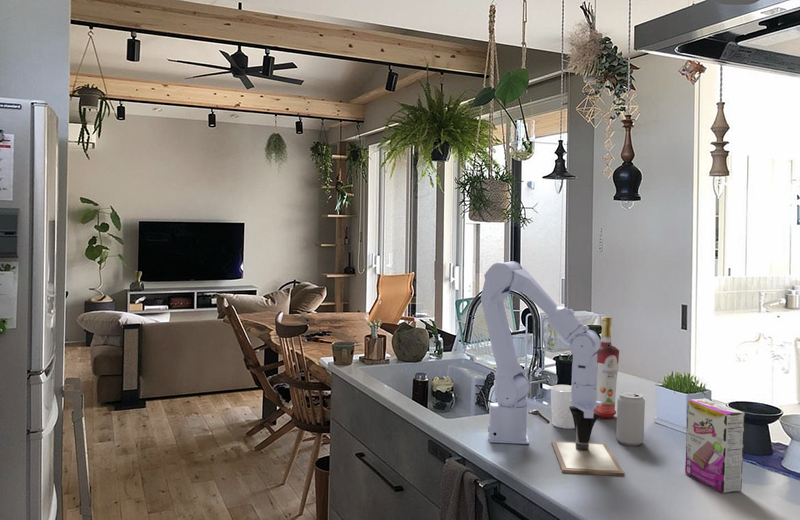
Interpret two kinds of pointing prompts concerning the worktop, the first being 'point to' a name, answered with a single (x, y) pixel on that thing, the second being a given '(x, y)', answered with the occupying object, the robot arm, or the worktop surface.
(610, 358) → the liquor
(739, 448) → the candy bar box
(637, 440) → the beverage can
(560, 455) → the writing board
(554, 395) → the white cup
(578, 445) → the grey yellow rounded cylinder
